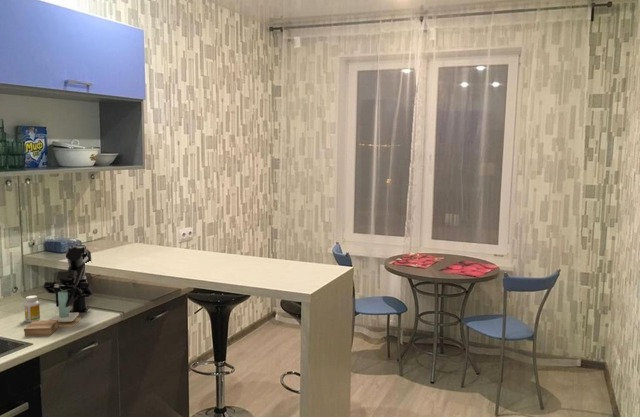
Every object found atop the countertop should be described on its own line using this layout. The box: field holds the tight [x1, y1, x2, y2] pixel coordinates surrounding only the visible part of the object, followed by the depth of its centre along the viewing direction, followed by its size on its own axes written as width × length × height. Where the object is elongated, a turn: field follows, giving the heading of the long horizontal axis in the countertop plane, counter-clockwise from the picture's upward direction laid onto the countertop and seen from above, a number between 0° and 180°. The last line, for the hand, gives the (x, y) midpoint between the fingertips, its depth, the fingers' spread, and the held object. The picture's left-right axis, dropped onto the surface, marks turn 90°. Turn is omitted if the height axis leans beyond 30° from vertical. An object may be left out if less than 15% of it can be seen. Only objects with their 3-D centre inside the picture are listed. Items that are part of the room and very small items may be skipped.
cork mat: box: [58, 316, 82, 328], centre depth 218 cm, size 10×10×1 cm
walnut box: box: [23, 319, 59, 337], centre depth 207 cm, size 9×9×3 cm
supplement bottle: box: [23, 295, 41, 323], centre depth 220 cm, size 5×5×10 cm
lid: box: [49, 290, 80, 322], centre depth 217 cm, size 9×9×11 cm
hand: (61, 306), depth 215 cm, fingers closed on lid, 3 cm apart
